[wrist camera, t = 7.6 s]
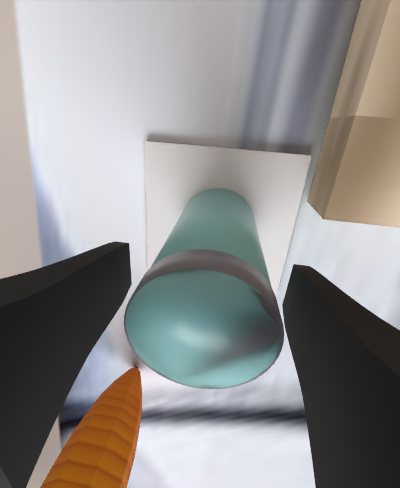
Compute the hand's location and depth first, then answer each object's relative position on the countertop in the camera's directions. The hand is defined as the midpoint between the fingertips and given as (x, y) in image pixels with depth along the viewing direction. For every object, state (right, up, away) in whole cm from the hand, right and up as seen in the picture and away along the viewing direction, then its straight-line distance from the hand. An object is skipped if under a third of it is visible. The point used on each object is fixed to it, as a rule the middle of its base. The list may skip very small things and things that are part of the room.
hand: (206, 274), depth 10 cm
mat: (+1, +3, +5) cm, 6 cm away
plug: (+1, +2, +5) cm, 6 cm away
